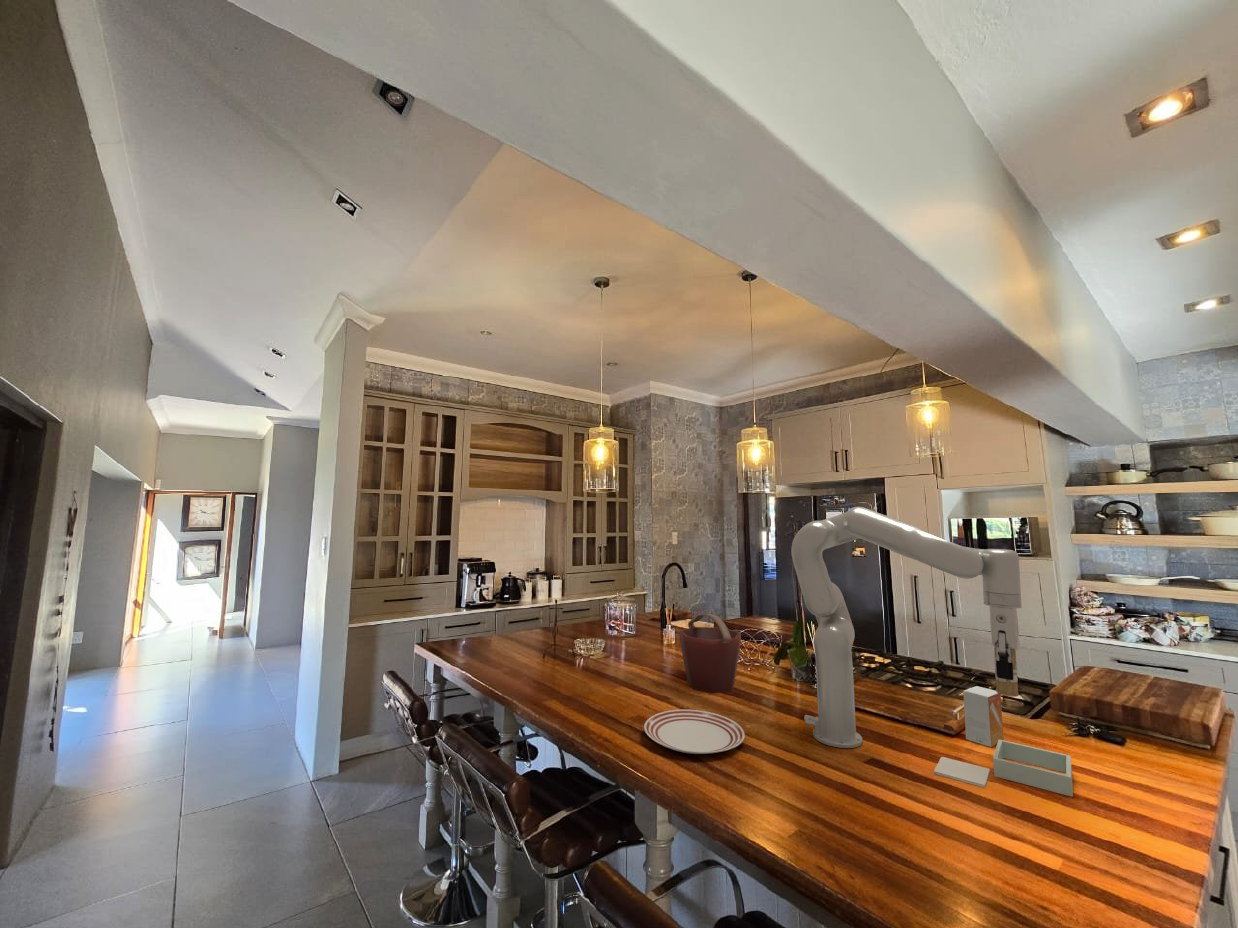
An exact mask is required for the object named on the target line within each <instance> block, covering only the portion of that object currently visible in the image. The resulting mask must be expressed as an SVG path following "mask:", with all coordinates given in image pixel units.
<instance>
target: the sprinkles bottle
mask: <svg viewBox="0 0 1238 928" xmlns="http://www.w3.org/2000/svg"><path fill="white" fill-rule="evenodd" d="M995 643H996V642H995ZM993 649H994V650H993V651H994V674H995V675H994V676H995V685H996V686H995V687H996V689H995V691H996V692H997V693H999V694H1001V696H1005V697H1011V698H1015V697H1016V698H1017V697H1018V696H1019V686H1018V667H1017V666H1018V665H1017V654H1016V652H1017V651H1014V649H1011V663H1013V680H1007V679H1002V678H998V677H997V672H996V660H997V651H996V648H995V647H994V646H993ZM1006 649H1009V648H1008V646H1006ZM1006 652H1007V651H1006ZM1007 653H1008V652H1007Z"/></svg>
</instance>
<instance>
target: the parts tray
mask: <svg viewBox="0 0 1238 928" xmlns="http://www.w3.org/2000/svg"><path fill="white" fill-rule="evenodd" d="M1071 756H1072V755H1069V754H1065V753H1061V752H1056V751H1052V750H1047V749H1045V748H1044V749H1043V748H1039V747H1034V746H1030V745H1026V744H1025V745H1024V744H1020V743H1017V742H1012V741H1008V740H998V743H997V744H996V747H995V751H994V754H993V756H992V761H993V763H992V764H993V777H996V778H1000V779H1004V780H1008V781H1011V782H1016V783H1019V784H1023V785H1027V786H1029V787H1034V788H1039V789H1042V790H1046V791H1049V792H1053V793H1057V794H1060V795H1065V796H1068V797H1072V798H1073V797H1074V794H1073V792H1074V791H1073V767H1072V766H1073V765H1072V758H1071ZM1006 759H1007V760H1006ZM1010 760H1011V761H1010ZM1023 763H1024V764H1023ZM1027 764H1028V765H1027ZM1031 765H1033V766H1031ZM1036 766H1037V767H1036ZM1038 767H1039V768H1038ZM1042 768H1043V769H1042ZM1046 769H1047V770H1046ZM1048 769H1049V770H1048ZM1052 770H1053V771H1052ZM1055 771H1056V772H1055Z"/></svg>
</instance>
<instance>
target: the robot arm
mask: <svg viewBox="0 0 1238 928" xmlns="http://www.w3.org/2000/svg"><path fill="white" fill-rule="evenodd" d="M858 539H861V540H863V541H866V542H868V543H871V544H873V545H875V546H879V547H881V548H884V549H886V550H889V551H891V552H892V553H896V554H899V555H901V556H902V557H905V558H908V559H911V560H915V561H918V562H919V563H922V564H924V565H927V566H929V567H932V568H934V569H936V570H939V571H942V572H945V573H947V574H949V575H952V576H954V577H956V578H959V579H964V580H970V579H974V578H977V577H978V576H982V595H983V605H985V606H988V607H989V620H990V635H991V641H992V647H993V648H994V647H995V648H996V651H997V660H996V672H997V677H998V678H1002V679H1007V680H1013V663H1011V649H1014V651H1016V652H1017V651H1018V650H1019V647H1020V634H1019V620H1018V612H1017V610H1018V609H1022V594H1021V593H1022V590H1021V573H1020V571H1021V570H1020V558H1019V554H1018V553H1017V552H1016V551H1015V550H1012V549H1003V548H987V549H984V548H982V549H981V548H973V547H968V546H963V545H959V544H958V543H957V544H956V543H954V542H951V541H949V540H946V539H944V538H941V537H938V536H935V535H933V534H931V533H929V532H926V531H925V530H922V529H920V528H919V527H917V526H914V525H912V524H911V523H908V522H905V521H901V520H899V519H896V518H894V517H891V516H889V515H886V514H882V513H879V512H877V511H875V510H872V509H870V508H866V507H863V506H854V507H852V508H850V509H848V510H847V511H845V512H843V513H840V514H837V515H834V516H832V517H829V518H826V519H822V520H813V521H810V522H808V523H806V524H804V525H803V526H802V527H801V528H800V530H798V531H797V532H796V534H795V536H794V538H793V540H792V543H791V557H792V563H793V567H794V569H795V573H796V576H797V580H798V583H799V587H800V590H801V594H802V596H803V601H804V604H805V607H806V608H807V610H808V611H809V612H810V613H811V615H814V616H815V619H816V622H817V625H818V626H817V628H816V630H815V632H814V636H813V647H814V648H813V650H814V656H815V658H814V659H815V668H816V671H815V673H816V689H817V692H816V694H817V714H818V715H817V716H816V717H815V716H813V715H808V714H805V715H804V723H805V725H806V726H811V727H813V730H812V736H813V738H814V739H815V740H816V741H818V743H819V742H820V743H822V744H824V745H826V746H830V747H833V748H841V749H854V748H858V747H861V746H862V744H863V736H861V734H860V733H858V732H857V728H856V727H857V725H856V711H855V710H856V707H855V705H856V703H855V687H854V685H855V682H854V667H853V655H852V649H853V648H852V646H853V643H854V641H855V636H856V635H855V629H854V624H853V623H852V618H851V615H850V613H849V610H848V607H847V604H846V601H845V598H844V595H843V593H842V591H841V589H840V588H839V586H838V585H837V584H835V583H834V582H832V581H831V578H830V575H829V572H828V568H827V566H826V562H825V561H824V558H823V557H824V556H823V552H824V551H825V550H827V549H830V548H834V547H836V546H841V545H843V544H845V543H849V542H851V541H855V540H858ZM995 642H996V643H995ZM1006 646H1008V648H1009V649H1006ZM1006 651H1007V652H1008V653H1007V652H1006Z"/></svg>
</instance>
